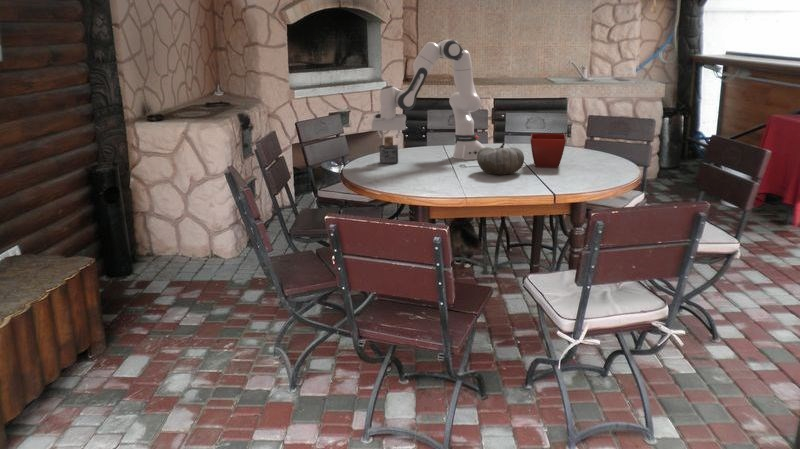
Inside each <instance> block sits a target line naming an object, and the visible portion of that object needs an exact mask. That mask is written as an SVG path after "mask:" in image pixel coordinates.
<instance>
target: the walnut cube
mask: <svg viewBox="0 0 800 449" xmlns="http://www.w3.org/2000/svg"><path fill="white" fill-rule="evenodd" d="M383 137H384V141H383V142H384V144H383V145H385V146H393V145H394V136H391V135H390V136H389V135H388V136H387V135H385V136H383Z"/></svg>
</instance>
